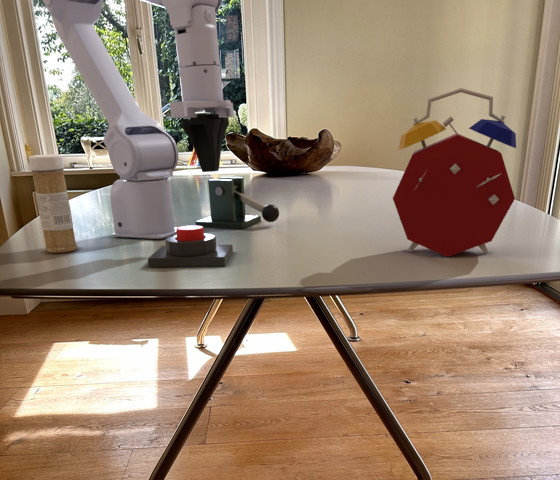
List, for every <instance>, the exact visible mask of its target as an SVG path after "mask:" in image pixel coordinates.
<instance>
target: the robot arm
mask: <svg viewBox="0 0 560 480" xmlns="http://www.w3.org/2000/svg"><path fill="white" fill-rule="evenodd" d="M141 1H142V2H145V3H148V4H151V5H154V6H158V7H161V8H163V9H165V10H166V11H167V13H168V17H169V25H170V26H171V28H172V29H173V30H174V38H175V48H176V55H177V56H176V57H177V64H178V75H179V83H180V90H181V91H180V93H181V100H180V101H170V102H169V110H170V118H171V119H181V118H182V119H181V120H180V125H181V128H182V129H183V131H184V132H185V134H186V135H187V138H188V139H189V141H190V143H191V144H192V147H193V149H194V152H195V155H196V158H197V160H198V163H199V167H200V169H201V172H202V173H208V172H209V173H211V172H218V171H219V168H220V162H221V155H222V147H223V143H224V138H225V136H226V132H227V129H228V127H229V125H230V119H229V118H233V117H235V113H234V103H233V102H232V101H231V99H224V92H223V79H222V72H221V71H222V70H221V60H220V59H221V58H220V49H219V40H218V39H219V38H218V29H217V26H218V25H217V17H216V14H217V13H218V11H219V10H220V8H221V5H222V1H223V0H141ZM42 2H43V4H44V6H45V8H46V9H47V11H48V13H49V14H50V16H51V17H50V18H51V20H52V22H53V25H54V28H55V32H56V33H57V35H58V37H59V39H60V41H61V43H62V44H63V46H64V47H65V49H66V51H67V53H68V54H69V56H70V58H71V60H72V62H73V64H74V65H75V66H76V69H77V71H78V73H79V74H80V76H81V78H82V79H83V81H84V83H85V85H86V87H87V89H88V90H89V92H90V94H91V95H92V98H93V99H94V101H95V102H96V104H97V106H98V108H99V110H100V112H101V113H102V115H103V117H104V119H105V120H106V123H107V124H108V128H107V129H106V131H105V134H104V137H103V144H104V146H105V147H106V150H107V152H108V155H109V161H110V164H111V167H112V168H113V170H114V171H115V174H117V175H118V176H119V179H117V180H115V181H114V182H113V183H112V185H111V188H110V194H109V199H110V205H111V207H110V208H111V215H112V221H113V226H114V227H113V229H114V233H112V234H111V237H113V238H131V239H133V238H134V239H152V240H162V239H166V238H168V237H170V236H174V235H177V234H176V228H177V227H178V226H177V227H176V225H175V215H174V207H173V206H174V205H173V196H172V195H173V194H172V185H171V177H174V170H175V169H176V168H177V166H178V163H179V148H178V145H177V143H176V140H175V138H173V137H172V135H170V134H169V133H168V132H166V131H165V129H163V126H162V125H161V124H160V122H159V121H158V120H156V119H155V118H153V117H151V116H149V115H147V114H146V113H144V112H143V111H142V110H141V108H140V106H139V105H138V103H137V101H136V100H135V97H134V96H133V94H132V92H131V90H130V89H129V86H128V85H127V84H126V82H125V80H124V78H123V76H122V75H121V73H120V71H119V69H118V67H117V65H116V64H115V62H114V60H113V59H112V57H111V55H110V53H109V52H108V50H107V47H106V46H105V44H104V42H103V41H102V39H101V37H100V36H99V34H98V32H97V30H96V29H95V26H94V25H95V23H97V22H98V21H99V20H100V18H101V13H102V8H103V4H104V0H42ZM203 112H204V113H203ZM183 118H184V119H183Z"/></svg>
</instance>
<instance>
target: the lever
mask: <svg viewBox="0 0 560 480" xmlns="http://www.w3.org/2000/svg"><path fill="white" fill-rule="evenodd" d="M222 180H227V179H222ZM237 188H238V185H236V184H234V196H235V198H236V199H238V200H239V201H241V202H243V203H245V205H246V206H248V207H250V208H252V209H254V210H256V211H257V212H259V213H261V218H262V219H263V220H264V221H265V222H267V223H274V222H276V221H277V220H278V219H279V217H280V210H279V208H278V207H277V205H275V204H272V203H270V204H266V205H264V204H262V203H260V202H259V201H257V200H254V199H253V198H251V197H250V196H247V195H245V193H244V194H242V193H240V192H238V191H237Z"/></svg>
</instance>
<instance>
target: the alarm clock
mask: <svg viewBox="0 0 560 480" xmlns="http://www.w3.org/2000/svg"><path fill="white" fill-rule="evenodd" d="M459 93H462V94H465V95H469V96H473V97H476V98H480V99H484V100H487V101H488V116H489V117H491V118H493V119H495V120H493V119H485V118H481V119H480V120H478V121H477V122H475V123H474V124H473V125H471V126H470V127H468V129H469V130H471V131H473V132H476V133H478V134H480V135H483V136H485V137H487V138H490V139H489V140H488V142H487V144H484V143H481V142H479V141H476V140H475V139H472V138H469V137H467V136H465V135H462V134H459V133H458V132H457V130H456V129H455V128H454V126H453V125H452V124H451V123H452V122H453V121H454V118H453V116H451V115H450V116H449V117H448V118H446V120H444V121H443V122H442V123H440V122H439V121H437V120H436V119H434V120H429V121H425V120H427V119H429V118H430V116H431V108H432V103H433V102H436V101H439V100H442V99H445V98H448V97H451V96H454V95H457V94H459ZM493 109H494V96H491V95H487V94H484V93H480V92H476V91H473V90H469V89H466V88H462V87H461V88H457V89H454V90H452V91H449V92H445V93H443V94H440V95H437V96H434V97H431V98H428V99H427V106H426V112H425V115H423V117H421V118H420V119H419V120H418V117H415V118H413V122H414V123H413V124H412V127H410V128H409V129H407V130H406V131H405V132H404V133H403V134H401V136H400V141H399V145H398V149H397V150H398V151H401V150H403V149H406V148H408V147H411V146H413V145H415V144H418V143H420V142H421V146H422V147H421V148H420V149H417V150H414V151H413V152H412V154H411V157H410V158H409V161H408V163H407V166H406V168H405V170H404V172H403V174H402V176H401V179H400V180H399V183H398V185H397V188H396V190H395V191H394V194H393V196H392V200H393V201H392V202H393V204H394V206H395V209H396V211H397V215H398V217H399V220H400V223H401V225H402V228H403V232H404V234H405V236H406V239H407V240H408V241H409V242H411V243H410V245H409V246H408V249H407V250H408V252H409V253H410V252H413V251H414V250H415V249H416V248H417V247H418V246H421V247H424V248H426V249H427V250H430V251H432V252H435V253H437V254H440V255H441V256H444V257H446V258H449V257H451V256H455V255H457V254H459V253H463V252H465V251H468V250H471V249H474V248H477V247H478V248H479V249H480V250H481V251H482V253H483V254H488V252H489V250H488V248H487V245H486V244H487V243H491V242H492V241H493V240H494V238H495V236H496V234H497V232H498V231H499V228H500V226H502V223H503V221H504V219H505V218H506V216H507V214H508V212H509V211H510V209H511V207H512V205H513V203H514V201H515V200H516V197H515V194H514V191H513V188H512V184H511V181H510V178H509V174H508V170H507V168H506V165H505V161H504V157H503V154H502V152H500V151H499V150H497V149H495V148H494V147H491V146H492V144H493V142H494V141H496V142H499V143H502V144H503V145H506V146H509V147H510V148H514V149H517V133H516V132H515V131H513V129H511V128H510V127H509V126H508V125H506V121H504V120H505V119H506V116H505V115H501V116H500V117H499V116H497V115H496V114H494V111H493ZM448 126H450V128H451V129H452V131H453V132H454V134H452V135H449V136H447V137H445V138H443V139H439V140H438V141H436V142H433V143H431V144H429V145H427V144H426V141H425V140H427V139H429V138H431V137H433V136H436V135H438V134H440V133H443V132H444V131H446V130H447V127H448Z"/></svg>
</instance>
